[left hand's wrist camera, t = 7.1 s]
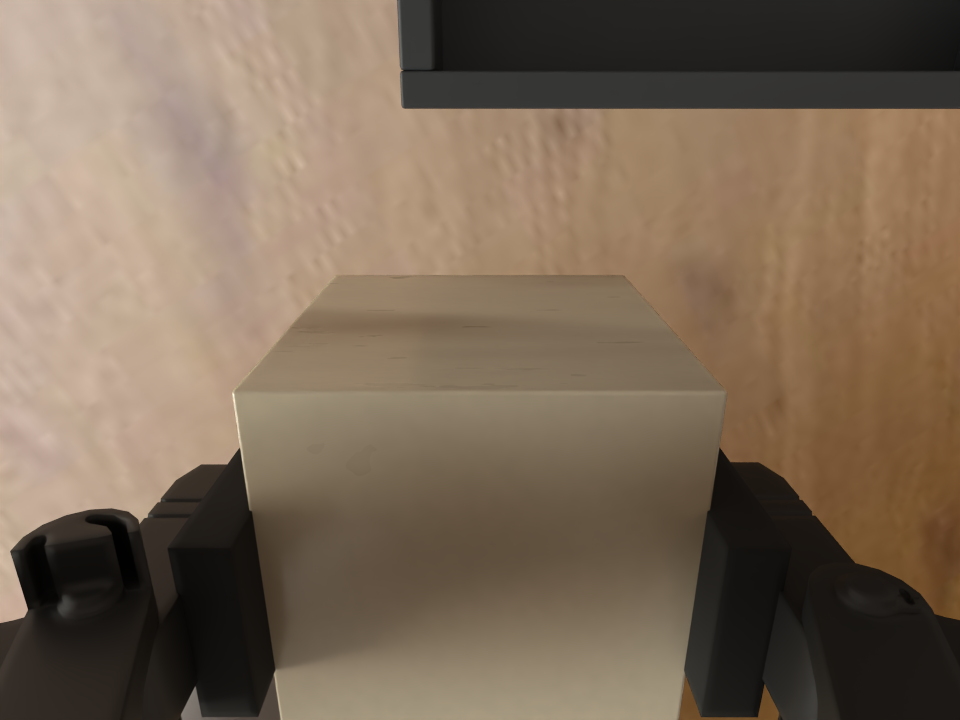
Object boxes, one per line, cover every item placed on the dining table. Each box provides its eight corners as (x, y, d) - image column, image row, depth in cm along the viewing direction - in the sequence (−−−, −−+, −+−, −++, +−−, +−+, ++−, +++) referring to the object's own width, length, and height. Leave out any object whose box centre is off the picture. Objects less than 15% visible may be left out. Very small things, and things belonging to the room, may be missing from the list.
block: (605, 520, 16) (675, 751, 10) (354, 520, 16) (283, 750, 10) (624, 274, 13) (729, 391, 8) (334, 274, 13) (230, 391, 8)
